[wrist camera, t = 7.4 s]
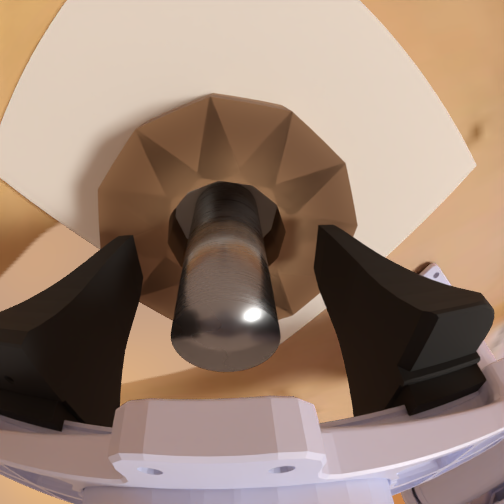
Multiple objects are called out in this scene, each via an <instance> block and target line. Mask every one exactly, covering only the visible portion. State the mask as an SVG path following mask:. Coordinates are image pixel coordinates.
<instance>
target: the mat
mask: <svg viewBox="0 0 504 504" xmlns="http://www.w3.org/2000/svg"><path fill="white" fill-rule="evenodd" d="M212 93H217V94H224V95H231V96H237V97H243V98H249V99H254V100H260V101H265V102H270V103H275V104H279V105H283V106H284V107H286V108H288V109H289V110H291V111H293V113H295V114H296V115H297V116H298V117H299V118H300V119H301V120H302V121H303V122H304V123H305V124H306V125H307V126H309V127H310V128H311V129H312V130H313V131H314V132H315V133H316V134H317V135H318V136H319V137H320V138H321V139H322V140H323V141H324V142H325V143H326V144H327V145H328V146H329V147H330V148H331V149H332V150H333V151H334V152H335V153H336V154H337V155H338V156H339V157H340V158H341V159H342V160H343V161H344V162H345V163H346V167H347V172H348V177H349V181H350V186H351V191H352V197H353V202H354V207H355V213H356V219H357V225H358V226H357V229H356V231H355V234H354V236H353V237H354V238H355V239H357V240H358V241H360V242H361V243H363V244H364V245H366V246H367V247H369V248H370V249H372V250H374V251H375V252H377V253H378V254H380V255H382V256H383V257H386V256H387V255H389V254H390V253H391V252H392V251H393V250H394V249H395V248H396V247H397V246H398V245H399V244H400V243H401V242H403V241H404V240H405V239H406V238H407V237H408V236H409V235H410V234H411V233H412V232H413V231H414V230H415V229H416V228H417V227H418V226H419V225H420V224H421V223H422V222H423V221H424V220H425V219H426V218H427V217H428V216H429V215H430V214H431V213H432V212H433V211H434V210H435V209H436V208H437V207H438V206H439V205H440V204H441V203H442V202H443V201H444V200H445V199H446V198H447V197H448V196H449V195H450V194H451V193H452V192H453V191H454V190H455V189H456V187H457V186H458V185H459V184H460V183H461V182H462V181H463V180H464V179H465V178H466V177H467V176H468V174H469V173H470V172H471V171H472V170H473V169H474V168H475V167H476V166H477V165H476V163H475V161H474V159H473V157H472V155H471V153H470V151H469V149H468V147H467V145H466V143H465V141H464V140H463V138H462V136H461V134H460V132H459V130H458V129H457V127H456V125H455V123H454V122H453V120H452V118H451V117H450V115H449V113H448V112H447V110H446V108H445V107H444V105H443V104H442V102H441V100H440V99H439V97H438V96H437V94H436V93H435V91H434V90H433V88H432V87H431V85H430V84H429V82H428V81H427V80H426V78H425V77H424V75H423V74H422V73H421V71H420V70H419V68H418V67H417V66H416V64H415V63H414V62H413V61H412V59H411V58H410V57H409V55H408V54H407V53H406V52H405V50H404V49H403V48H402V47H401V45H400V44H399V43H398V42H397V40H396V39H395V38H394V37H393V36H392V35H391V33H390V32H389V31H388V30H387V29H386V28H385V27H384V25H383V24H382V23H381V22H380V21H379V20H378V19H377V18H376V17H375V16H374V15H373V14H372V13H371V11H370V10H369V9H368V8H367V7H366V6H365V5H364V4H363V3H362V2H361V1H360V0H67V1H66V2H65V4H64V5H63V6H62V8H61V9H60V11H59V12H58V14H57V15H56V17H55V18H54V20H53V21H52V23H51V24H50V26H49V27H48V29H47V31H46V32H45V34H44V35H43V37H42V39H41V40H40V42H39V44H38V46H37V47H36V49H35V51H34V53H33V54H32V56H31V58H30V60H29V62H28V64H27V66H26V68H25V69H24V71H23V73H22V75H21V78H20V80H19V82H18V84H17V86H16V88H15V90H14V92H13V95H12V97H11V99H10V102H9V104H8V106H7V109H6V111H5V114H4V116H3V119H2V121H1V124H0V178H1V179H2V180H4V181H5V182H6V183H7V184H9V185H10V186H11V187H13V188H14V189H15V190H16V191H18V192H19V193H20V194H22V195H23V196H24V197H26V198H27V199H28V200H30V201H31V202H32V203H34V204H35V205H37V206H38V207H39V208H41V209H42V210H43V211H45V212H46V213H48V214H49V215H50V216H52V217H53V218H55V219H56V220H57V221H59V222H60V223H62V224H63V225H65V226H66V227H67V228H69V229H70V230H72V231H73V232H75V233H76V234H78V235H79V236H81V237H82V238H84V239H85V240H87V241H88V242H90V243H91V244H93V245H94V246H96V247H97V248H99V249H100V235H99V216H98V188H99V186H100V185H101V183H102V181H103V179H104V178H105V176H106V174H107V173H108V171H109V169H110V168H111V166H112V164H113V163H114V161H115V160H116V158H117V156H118V155H119V153H120V152H121V150H122V149H123V147H124V145H125V144H126V142H127V141H128V139H129V138H130V136H131V135H132V133H133V132H134V130H135V129H136V128H138V127H139V126H141V125H142V124H144V123H145V122H147V121H148V120H150V119H152V118H154V117H156V116H159V115H161V114H163V113H165V112H168V111H170V110H172V109H174V108H177V107H179V106H182V105H184V104H186V103H189V102H191V101H194V100H196V99H199V98H201V97H204V96H207V95H209V94H212ZM219 182H225V181H217V182H214V183H212V184H209V185H206V186H203V187H201V188H198V189H196V190H193V191H190V192H188V193H187V194H186V196H185V197H184V198H183V199H182V201H181V202H180V203H179V204H178V206H177V207H176V219H177V221H178V223H179V225H180V227H181V228H182V230H183V232H184V234H185V236H186V238H187V239H188V237H189V233H190V228H191V223H192V219H193V214H194V210H195V205H196V202H197V199H198V197H199V195H200V194H201V193H202V192H203V191H204V190H205V189H206V188H207V187H209V186H211V185H213V184H215V183H219ZM237 184H239V183H237ZM240 185H242V186H244V187H245V188H247V189H248V190H249V191H250V192H251V193H252V195H253V196H254V198H255V200H256V204H257V208H258V214H259V219H260V224H261V230H262V235H263V237H264V236H265V235H266V234H267V233H268V232H269V231H270V230H271V228H272V224H273V220H274V217H275V213H276V209H277V205H276V204H275V203H274V202H273V201H271V200H270V199H269V198H268V197H266V196H265V195H264V194H263V193H261V192H260V191H259V190H258V189H256V188H255V187H254V186H252V185H245V184H240ZM325 309H326V306H325V304H324V301H323V299H322V296H321V294H320V293H319V294H318V295H317V296H316V297H315V298H313V299H312V300H311V301H310V302H309V303H307V304H306V305H305V306H304V307H303V308H301V309H300V310H299V311H298V312H297V313H295V314H294V315H293V316H290V317H286V318H283V319H280V320H278V322H279V328H280V335H281V338H280V343H279V345H280V344H281V343H283V342H284V341H285V340H287V339H288V338H289V337H291V336H292V335H293V334H294V333H296V332H297V331H298V330H300V329H301V328H302V327H304V326H305V325H306V324H307V323H309V322H310V321H311V320H312V319H314V318H315V317H316V316H317V315H319V314H320V313H321V312H322V311H324V310H325Z"/></svg>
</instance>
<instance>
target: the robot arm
mask: <svg viewBox="0 0 504 504" xmlns="http://www.w3.org/2000/svg"><path fill="white" fill-rule="evenodd" d="M314 272H315V277H316V281H317V284H318V288H319V291H320V294H321V296H322V299H323V301H324V304H325V306H326V308H327V311H328V313H329V316H330V318H331V321H332V323H333V326H334V328H335V331H336V334H337V337H338V340H339V343H340V347H341V351H342V355H343V359H344V364H345V368H346V373H347V378H348V383H349V388H350V394H351V400H352V407H353V414H354V417H352V418H347V419H341V420H336V421H330V422H325V423H319V421H318V417H317V413H316V409H315V406H314V405H313V404H311V403H309V402H306V401H304V400H301V399H299V398H296V397H294V396H260V397H246V398H226V399H152V398H151V399H141V400H131V401H128V402H126V403H125V404H123V405H122V406H120V391H121V379H122V369H123V362H124V354H125V349H126V344H127V341H128V337H129V333H130V330H131V326H132V323H133V320H134V317H135V313H136V310H137V307H138V303H139V300H140V295H141V290H142V283H143V274H142V270H141V266H140V262H139V258H138V254H137V250H136V245H135V241H134V237H133V235H124V236H118V237H116V238H115V239H113V240H112V241H111V242H109V243H108V244H107V245H105V246H104V247H103V248H102V249H100V250H99V251H98V252H97V253H95V254H94V255H93V256H92V257H91V258H89V259H88V260H87V261H86V262H84V263H83V264H82V265H80V266H79V267H78V268H76V269H75V270H74V271H72V272H71V273H70V274H69V275H67V276H66V277H64V278H63V279H61V280H60V281H58V282H57V283H55V284H54V285H52V286H51V287H49V288H48V289H46V290H44V291H42V292H40V293H39V294H37V295H35V296H33V297H32V298H30V299H28V300H26V301H24V302H22V303H20V304H18V305H15V306H13V307H11V308H9V309H6V310H4V311H1V312H0V474H1V475H3V476H5V477H7V478H9V479H12V480H14V481H16V482H18V483H21V484H23V485H25V486H28V487H30V488H32V489H35V490H37V491H40V492H42V493H45V494H47V495H50V496H53V497H56V498H59V499H61V500H64V501H67V502H71V503H74V504H394V502H393V498H392V495H395V494H397V493H400V492H401V495H402V497H403V500H404V502H405V503H406V504H504V358H502V359H500V360H498V361H497V360H496V359H495V357H494V355H493V354H492V352H491V351H490V349H489V347H488V346H487V344H486V343H485V341H484V339H485V337H486V335H487V334H488V332H489V330H490V328H491V326H492V324H493V320H494V309H493V308H492V306H491V305H490V304H489V302H488V301H487V300H486V299H485V297H484V296H483V295H482V294H481V293H479V292H474V291H470V290H465V289H461V288H457V287H453V286H451V284H450V283H449V281H448V280H447V278H446V277H445V275H444V274H443V272H442V271H441V269H440V268H439V267H438V265H437V264H436V263H432V264H430V265H428V266H427V267H426V268H425V269H424V270H423V271H422V272H421V273H420V274H417V273H414V272H412V271H410V270H408V269H406V268H404V267H402V266H400V265H398V264H396V263H394V262H392V261H390V260H389V259H387V258H385V257H383V256H382V255H380V254H378V253H377V252H375V251H374V250H372V249H370V248H369V247H367V246H366V245H364V244H363V243H361V242H360V241H358V240H357V239H355V238H354V237H352V236H351V235H349V234H348V233H346V232H345V231H343V230H342V229H340V228H339V227H337V226H335V225H318V233H317V242H316V251H315V260H314Z"/></svg>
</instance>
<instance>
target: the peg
mask: <svg viewBox="0 0 504 504" xmlns="http://www.w3.org/2000/svg"><path fill="white" fill-rule="evenodd" d="M280 338H281V335H280V328H279V322H278V317H277V311H276V305H275V300H274V294H273V289H272V283H271V278H270V272H269V267H268V262H267V256H266V251H265V246H264V240H263V235H262V230H261V224H260V219H259V214H258V208H257V204H256V200H255V198H254V196H253V195H252V193H251V192H250V191H249V190H248V189H247V188H245V187H244V186H242V185H240V184H237V183H232V182H219V183H215V184H213V185H211V186H209V187H207V188H206V189H205V190H204V191H203V192H202V193H201V194H200V195H199V197H198V199H197V202H196V205H195V210H194V214H193V219H192V223H191V228H190V233H189V237H188V242H187V247H186V252H185V257H184V262H183V267H182V273H181V278H180V283H179V289H178V294H177V300H176V306H175V311H174V317H173V324H172V330H171V341H172V344H173V346H174V348H175V350H176V351H177V353H178V354H179V355H180V356H181V357H182V358H183V359H185V360H186V361H188V362H189V363H191V364H193V365H195V366H197V367H200V368H203V369H206V370H211V371H218V372H234V371H241V370H246V369H249V368H252V367H255V366H257V365H259V364H261V363H263V362H264V361H266V360H267V359H269V358H270V357H271V356H272V355H273V354H274V353H275V351H276V350H277V348H278V346H279V343H280Z"/></svg>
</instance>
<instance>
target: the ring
mask: <svg viewBox="0 0 504 504" xmlns="http://www.w3.org/2000/svg"><path fill="white" fill-rule="evenodd" d="M217 181H225V182H232V183H239V184H245V185H252V186H254V187H255V188H256V189H258V190H259V191H260V192H261V193H263V194H264V195H265V196H266V197H268V198H269V199H270V200H271V201H273V202H274V203H275V204H276V205H277V209H276V213H275V217H274V220H273V224H272V228H271V230H270V231H269V232H268V233H267V234H266V235H265V236H264V237H263V240H264V246H265V251H266V256H267V262H268V267H269V272H270V278H271V283H272V289H273V294H274V300H275V305H276V311H277V317H278V320H280V319H283V318H286V317H290V316H293V315H294V314H295V313H297V312H298V311H299V310H300V309H301V308H303V307H304V306H305V305H306V304H307V303H309V302H310V301H311V300H312V299H313V298H315V297H316V296H317V295H318V294H319V293H320V291H319V288H318V284H317V281H316V277H315V272H314V260H315V251H316V242H317V233H318V225H335V226H337V227H339V228H340V229H342V230H343V231H345V232H346V233H348V234H349V235H351V236H352V237H353V236H354V234H355V231H356V229H357V226H358V225H357V219H356V213H355V207H354V202H353V197H352V191H351V186H350V181H349V177H348V172H347V167H346V163H345V162H344V161H343V160H342V159H341V158H340V157H339V156H338V155H337V154H336V153H335V152H334V151H333V150H332V149H331V148H330V147H329V146H328V145H327V144H326V143H325V142H324V141H323V140H322V139H321V138H320V137H319V136H318V135H317V134H316V133H315V132H314V131H313V130H312V129H311V128H310V127H309V126H307V125H306V124H305V123H304V122H303V121H302V120H301V119H300V118H299V117H298V116H297V115H296V114H295V113H293V111H291V110H289V109H288V108H286V107H284V106H283V105H279V104H275V103H270V102H265V101H260V100H254V99H249V98H243V97H237V96H231V95H224V94H217V93H212V94H209V95H207V96H204V97H201V98H199V99H196V100H194V101H191V102H189V103H186V104H184V105H182V106H179V107H177V108H174V109H172V110H170V111H168V112H165V113H163V114H161V115H159V116H156V117H154V118H152V119H150V120H148V121H147V122H145V123H144V124H142V125H141V126H139V127H138V128H136V129H135V130H134V132H133V133H132V135H131V136H130V138H129V139H128V141H127V142H126V144H125V145H124V147H123V149H122V150H121V152H120V153H119V155H118V156H117V158H116V160H115V161H114V163H113V164H112V166H111V168H110V169H109V171H108V173H107V174H106V176H105V178H104V179H103V181H102V183H101V185H100V186H99V188H98V216H99V235H100V249H102V248H103V247H104V246H105V245H107V244H108V243H109V242H111V241H112V240H113V239H115V238H116V237H118V236H124V235H133V237H134V241H135V245H136V250H137V254H138V258H139V262H140V266H141V270H142V274H143V283H142V290H141V295H140V300H139V302H140V303H142V304H144V305H146V306H148V307H149V308H151V309H153V310H155V311H156V312H158V313H160V314H162V315H164V316H165V317H167V318H169V319H171V320H173V317H174V311H175V306H176V300H177V294H178V289H179V283H180V278H181V273H182V267H183V262H184V257H185V252H186V247H187V242H188V239H187V238H186V236H185V234H184V232H183V230H182V228H181V227H180V225H179V223H178V221H177V219H176V207H177V206H178V204H179V203H180V202H181V201H182V199H183V198H184V197H185V196H186V194H187V193H188V192H190V191H193V190H196V189H198V188H201V187H203V186H206V185H209V184H212V183H214V182H217Z"/></svg>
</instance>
